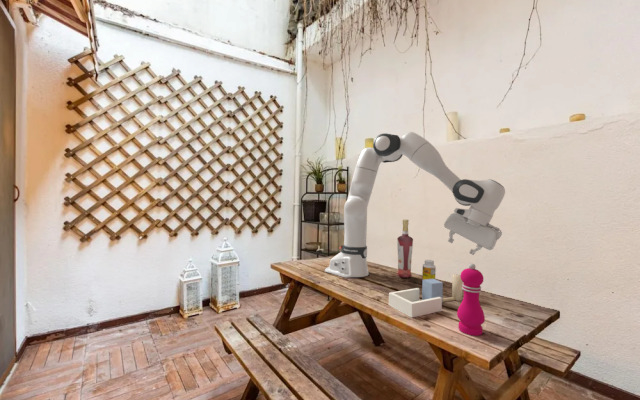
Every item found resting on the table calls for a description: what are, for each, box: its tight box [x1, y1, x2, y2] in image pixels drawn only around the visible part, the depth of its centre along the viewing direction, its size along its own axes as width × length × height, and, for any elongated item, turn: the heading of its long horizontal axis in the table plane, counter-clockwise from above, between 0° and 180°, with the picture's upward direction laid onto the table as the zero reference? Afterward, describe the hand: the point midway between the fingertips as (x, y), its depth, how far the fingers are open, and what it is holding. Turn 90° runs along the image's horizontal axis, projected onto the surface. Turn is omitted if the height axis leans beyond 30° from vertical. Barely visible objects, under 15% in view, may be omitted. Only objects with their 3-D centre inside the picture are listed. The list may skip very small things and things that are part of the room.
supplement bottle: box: [421, 259, 437, 280], centre depth 130 cm, size 6×6×10 cm
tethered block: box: [421, 274, 463, 303], centre depth 108 cm, size 16×5×9 cm, turn 110°
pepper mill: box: [456, 263, 486, 337], centre depth 84 cm, size 7×7×20 cm
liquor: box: [396, 219, 414, 279], centre depth 138 cm, size 7×7×28 cm
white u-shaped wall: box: [388, 287, 443, 318], centre depth 100 cm, size 14×11×4 cm
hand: (460, 248), depth 118 cm, fingers open, 8 cm apart
